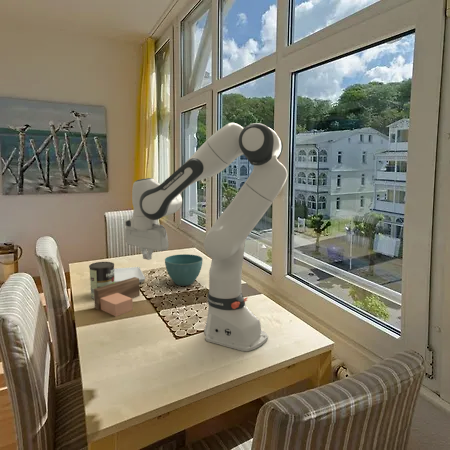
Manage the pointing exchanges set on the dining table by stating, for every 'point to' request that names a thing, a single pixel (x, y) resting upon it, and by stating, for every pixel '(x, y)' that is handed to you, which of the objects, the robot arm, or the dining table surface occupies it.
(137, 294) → the walnut board
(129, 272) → the salad plate
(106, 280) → the coffee can
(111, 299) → the terracotta block
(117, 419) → the dining table surface
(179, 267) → the plant pot
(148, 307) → the dining table surface
